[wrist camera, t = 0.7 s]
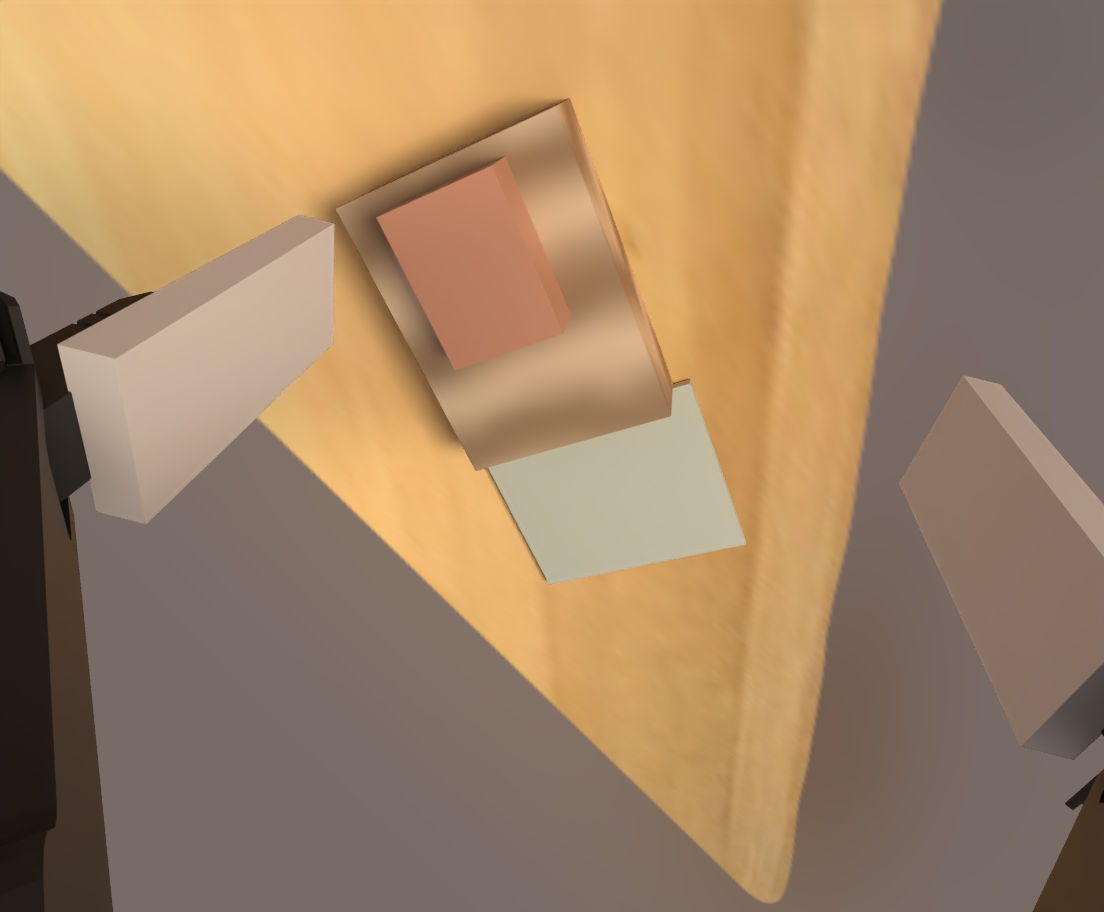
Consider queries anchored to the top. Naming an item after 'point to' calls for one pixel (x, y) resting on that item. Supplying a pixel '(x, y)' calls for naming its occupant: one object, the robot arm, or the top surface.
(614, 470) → the mat
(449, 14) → the top surface
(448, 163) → the deck
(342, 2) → the top surface
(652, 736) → the top surface
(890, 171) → the top surface
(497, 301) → the tile
